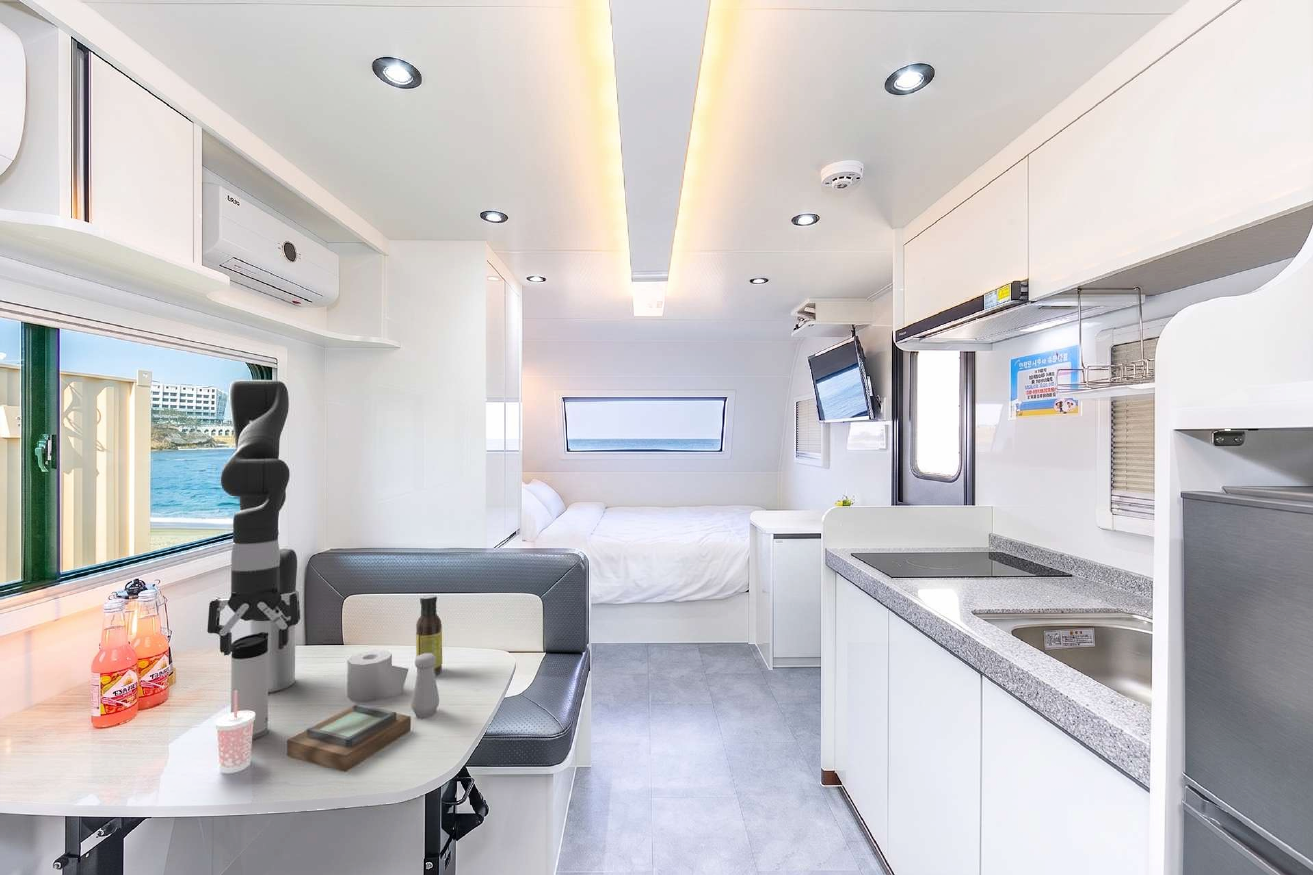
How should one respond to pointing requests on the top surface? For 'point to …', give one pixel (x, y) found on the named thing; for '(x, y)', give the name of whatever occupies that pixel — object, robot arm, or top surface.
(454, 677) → the top surface
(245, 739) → the beverage cup
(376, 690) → the toilet tissue
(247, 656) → the travel mug
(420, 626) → the sauce bottle
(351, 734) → the dock
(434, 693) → the salt shaker
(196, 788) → the top surface
